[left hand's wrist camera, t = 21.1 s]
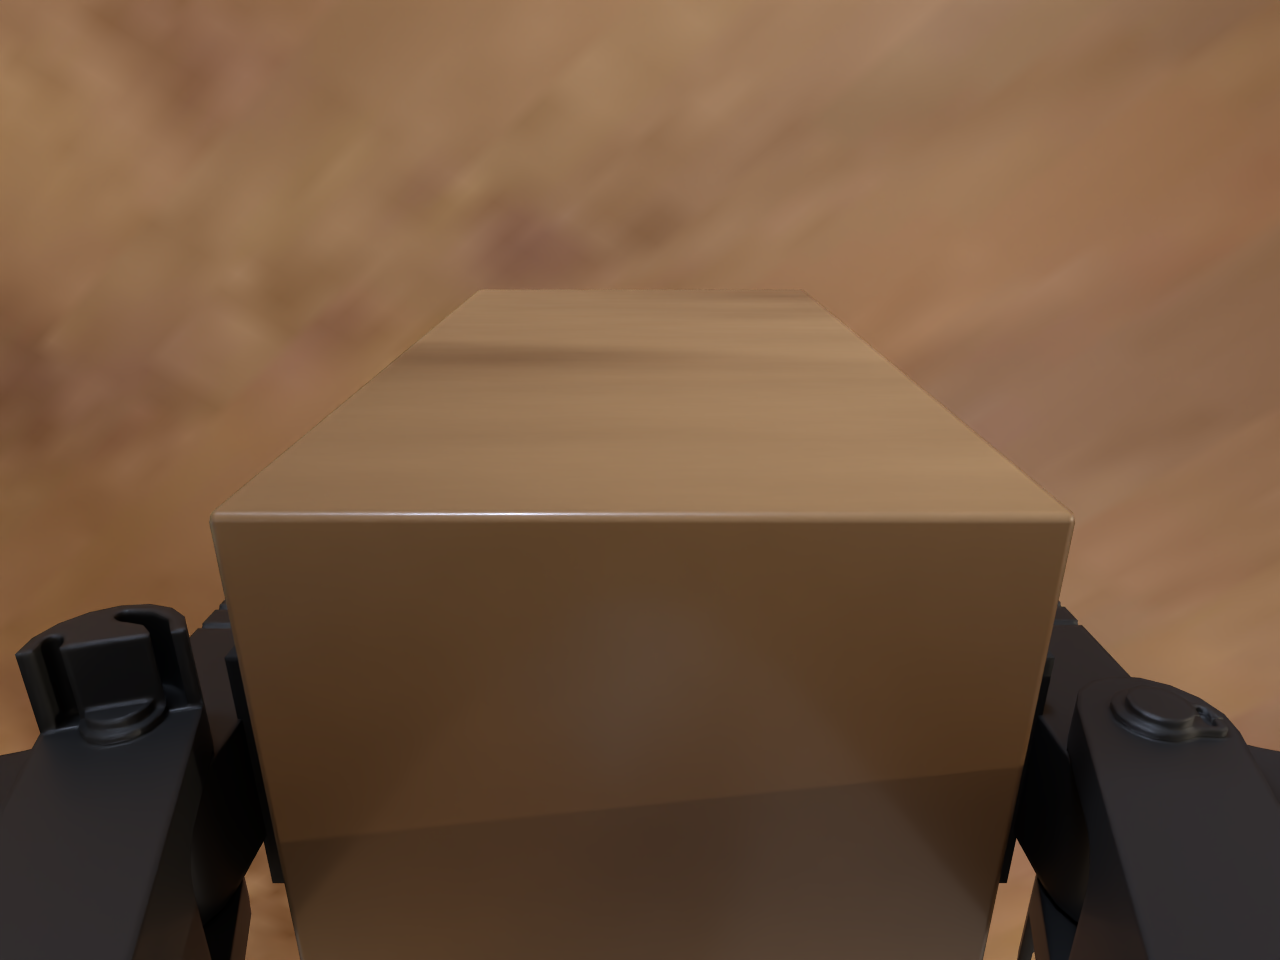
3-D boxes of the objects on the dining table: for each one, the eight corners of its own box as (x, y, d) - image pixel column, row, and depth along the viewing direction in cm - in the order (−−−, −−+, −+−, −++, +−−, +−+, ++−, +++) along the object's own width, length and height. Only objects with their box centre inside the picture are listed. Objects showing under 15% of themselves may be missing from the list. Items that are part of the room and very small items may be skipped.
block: (782, 601, 18) (950, 1128, 8) (498, 601, 18) (331, 1128, 8) (804, 289, 15) (1082, 513, 6) (477, 289, 15) (203, 513, 6)
